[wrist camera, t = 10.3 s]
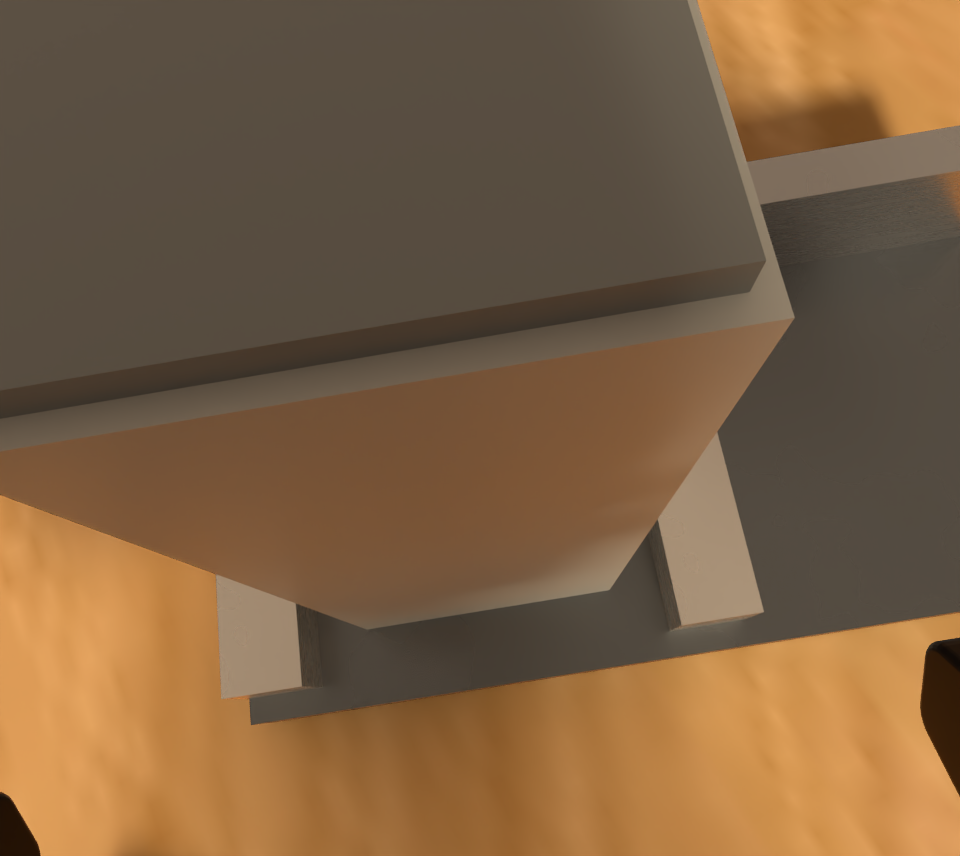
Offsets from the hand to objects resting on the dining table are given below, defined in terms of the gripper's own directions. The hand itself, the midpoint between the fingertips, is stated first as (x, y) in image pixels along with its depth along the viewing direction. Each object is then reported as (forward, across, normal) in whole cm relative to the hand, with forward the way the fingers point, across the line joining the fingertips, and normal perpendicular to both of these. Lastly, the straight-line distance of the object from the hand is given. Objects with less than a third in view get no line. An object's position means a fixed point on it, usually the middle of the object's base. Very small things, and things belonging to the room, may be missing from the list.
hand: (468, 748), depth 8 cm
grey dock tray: (+10, -3, +3) cm, 11 cm away
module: (+9, 0, +2) cm, 10 cm away
